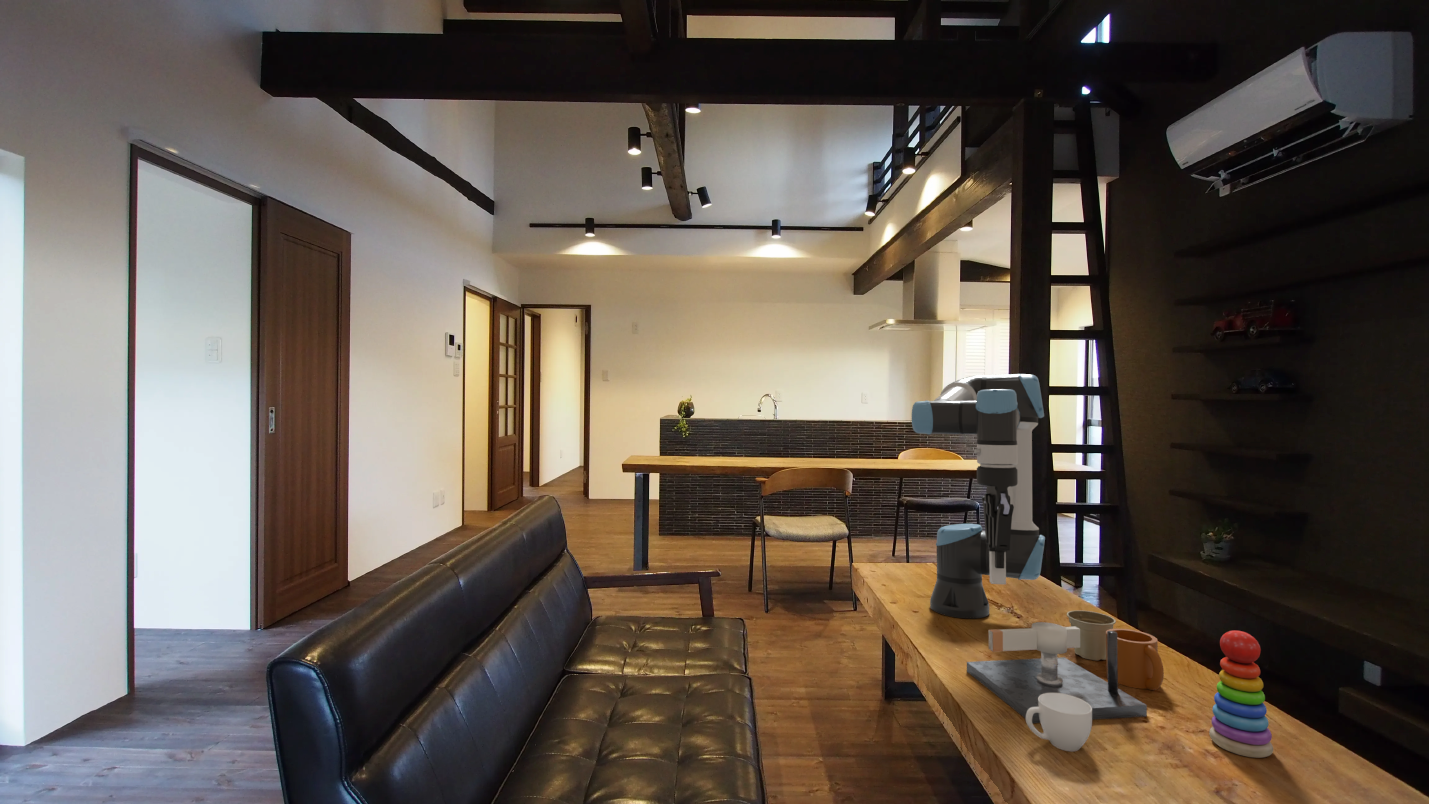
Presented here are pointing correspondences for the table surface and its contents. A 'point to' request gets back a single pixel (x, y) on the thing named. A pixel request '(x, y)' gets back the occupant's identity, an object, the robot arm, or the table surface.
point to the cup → (1062, 720)
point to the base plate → (1058, 683)
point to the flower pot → (1091, 633)
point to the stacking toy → (1240, 699)
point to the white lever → (1035, 638)
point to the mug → (1138, 659)
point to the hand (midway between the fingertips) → (997, 583)
